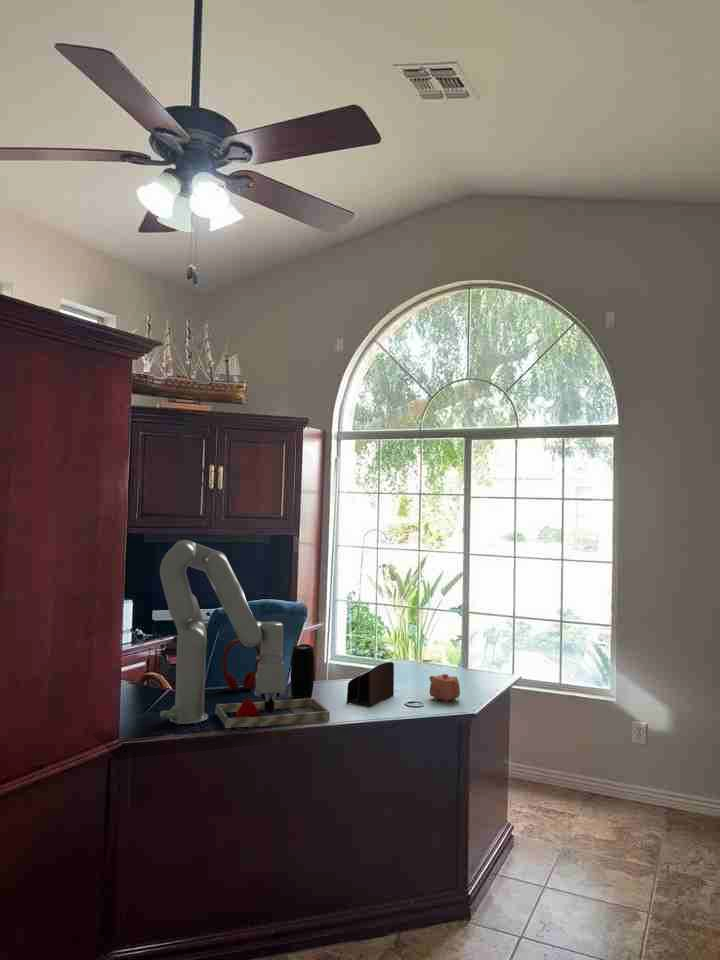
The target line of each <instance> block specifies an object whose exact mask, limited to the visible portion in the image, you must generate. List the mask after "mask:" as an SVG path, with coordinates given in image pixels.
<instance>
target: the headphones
mask: <svg viewBox="0 0 720 960" xmlns="http://www.w3.org/2000/svg"><path fill="white" fill-rule="evenodd" d="M238 642H241V641H240V639H239V638H236V639H234V640H232V641H230V642H229V643H228V644H227V646H226V647H225V648H224V651H223V653H222V663H221V665H222V666H221V668H222V670H223V672H222V675H223V679H224V682H225V684H226V686H227V688H228V689H229V690H230V691H231V690H232V691H231V692H233V691H234V690H235V692H236V691H237V690H238V689H239V684H238V681H237V679H236V678H235V676H234V675H233V674H232V673H231V672H228V671H227V669H228V666H227V664H226V661H227V660H226V659H227V654H228V652H229V650H230V648H231V647H232V646H234V645H236V643H238ZM254 647H255V649H256V656H258V655H260V653H261V649H260V647H259V646H258V645H256V646H254ZM258 662H260V660H256V661H255V669H254V670H250V671H249V672H247V673H246V675H245V676H244V678H243V681H242V687H243V688H244V689H245V690H250V689H251V690H253V689H254V688H255V678H256V671H257V666H258ZM227 672H228V673H227ZM233 689H234V690H233Z"/></svg>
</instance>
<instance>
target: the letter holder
mask: <svg viewBox="0 0 720 960" xmlns="http://www.w3.org/2000/svg"><path fill="white" fill-rule="evenodd" d="M394 686H395V663H394V662H393V661H388V662H387V661H386V662H383V663H380V664H378V665H377V666H375V667H373V668H372V669H370V670H368V671H366V672H365V673H363V674H360V675H357V676H355V677H354V678H352V679H351V680H349V682H348V683H347V693H346V704H348V703H351V704H350V705H354V704H355V705H354V706H359V705H360V706H361V707H364V706H365V708H371V707H373V706H375V705H377V704H380V703H381V701H382V702H384V701H385V700H388V699H390V698H392V697H394V696H393V695H394V693H395V692H394V688H395V687H394ZM391 696H392V697H391ZM379 702H380V703H379ZM360 706H359V707H360Z"/></svg>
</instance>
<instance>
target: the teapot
mask: <svg viewBox="0 0 720 960" xmlns="http://www.w3.org/2000/svg"><path fill="white" fill-rule="evenodd" d="M429 681H430V685H429V695H430V697H433V699H436V700H435V701H439V700H442V703H444V702H448V703H449V701H452V700H455V701H456V699H458V698H459V697H460V696H461V689H460V683H459V678H458V677H457V676H454V675H453V676H449V674H448V673H443V674H441V675H436V676H435V675H430V676H429Z"/></svg>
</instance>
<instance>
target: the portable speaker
mask: <svg viewBox="0 0 720 960" xmlns="http://www.w3.org/2000/svg"><path fill="white" fill-rule="evenodd" d="M292 647H293V648H292V654H291V659H290V660H291V661H290V681H289V682H290V695H291V697H292V700H294V699H307V698H313V691H314V683H315V680H314V679H315V650H314V646H312V645H311V644H307V643H304V644H303V643H302V644H298V645H293V646H292Z"/></svg>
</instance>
